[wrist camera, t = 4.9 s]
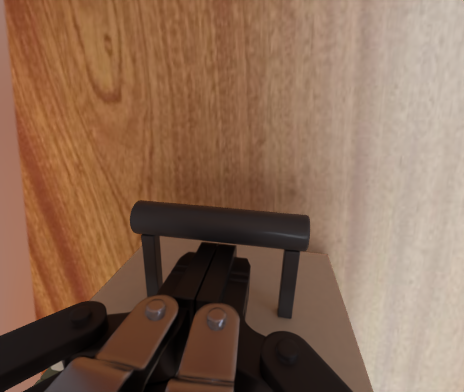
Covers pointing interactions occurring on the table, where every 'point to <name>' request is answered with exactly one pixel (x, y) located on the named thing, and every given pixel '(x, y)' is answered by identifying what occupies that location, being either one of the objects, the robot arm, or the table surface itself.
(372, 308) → the table surface
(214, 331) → the robot arm
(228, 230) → the drawer
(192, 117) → the table surface
